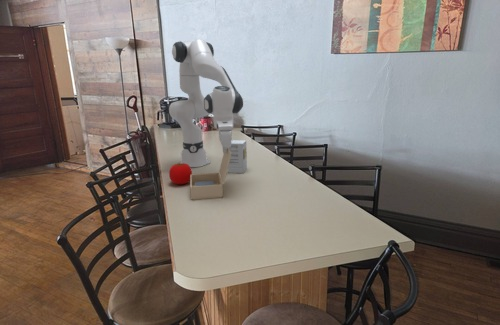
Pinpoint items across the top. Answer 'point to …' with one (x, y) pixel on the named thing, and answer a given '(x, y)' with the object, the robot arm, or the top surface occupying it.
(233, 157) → the supplement box
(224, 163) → the lid
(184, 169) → the tomato
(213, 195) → the box
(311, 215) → the top surface
